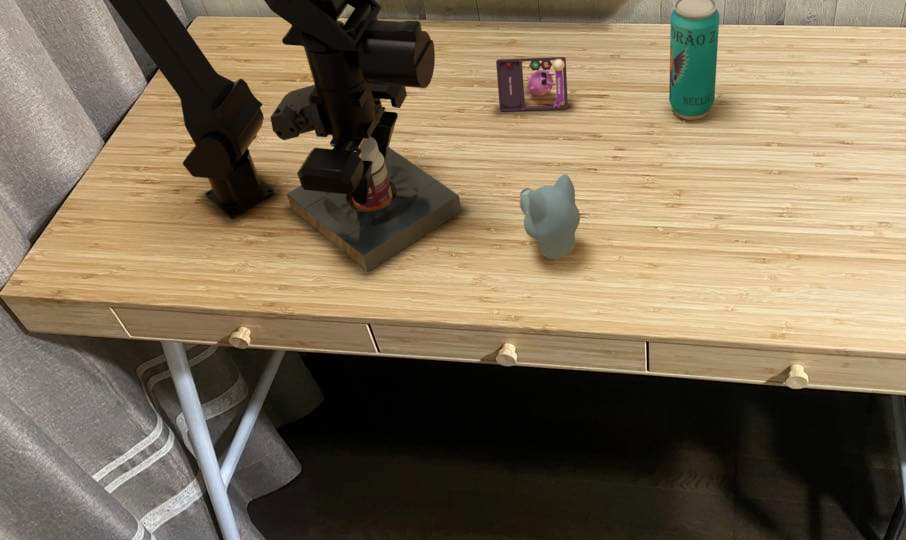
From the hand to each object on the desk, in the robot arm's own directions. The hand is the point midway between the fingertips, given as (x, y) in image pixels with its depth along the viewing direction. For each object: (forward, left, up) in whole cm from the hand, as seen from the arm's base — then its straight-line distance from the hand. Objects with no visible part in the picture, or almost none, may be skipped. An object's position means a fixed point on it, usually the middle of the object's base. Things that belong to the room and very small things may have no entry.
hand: (369, 188), depth 120 cm
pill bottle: (0, 0, -2) cm, 2 cm away
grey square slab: (0, 0, -3) cm, 3 cm away
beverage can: (-15, -40, -4) cm, 43 cm away
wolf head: (-20, -10, -4) cm, 23 cm away
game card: (+2, -28, -4) cm, 28 cm away
